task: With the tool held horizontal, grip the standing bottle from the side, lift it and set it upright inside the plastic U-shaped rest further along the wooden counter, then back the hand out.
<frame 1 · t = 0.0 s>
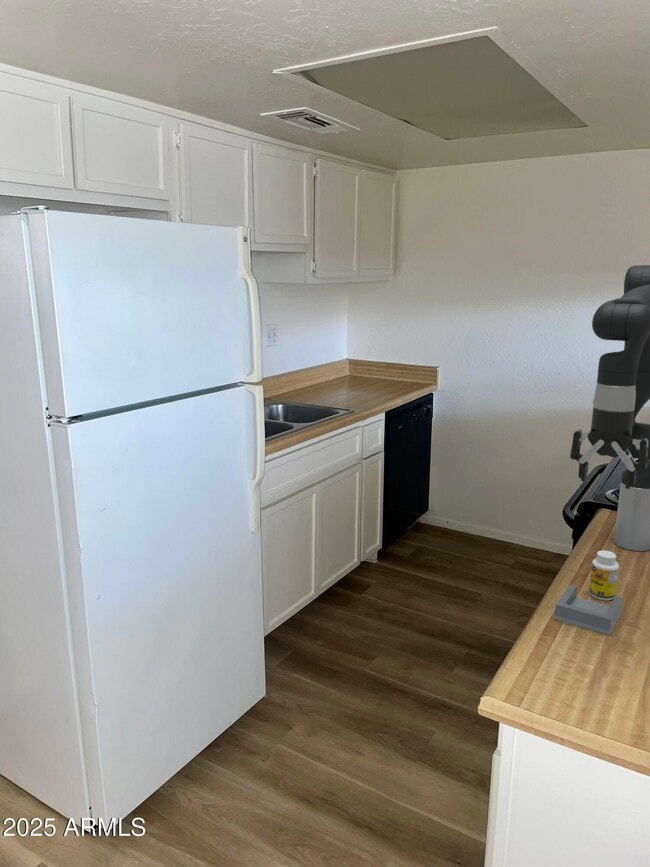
hand: (605, 484, 134), 29 cm above the worktop, tool pointing down, fingers open, 8 cm apart
supplement bottle: (601, 596, 149), on the worktop
u rest: (587, 616, 140), on the worktop
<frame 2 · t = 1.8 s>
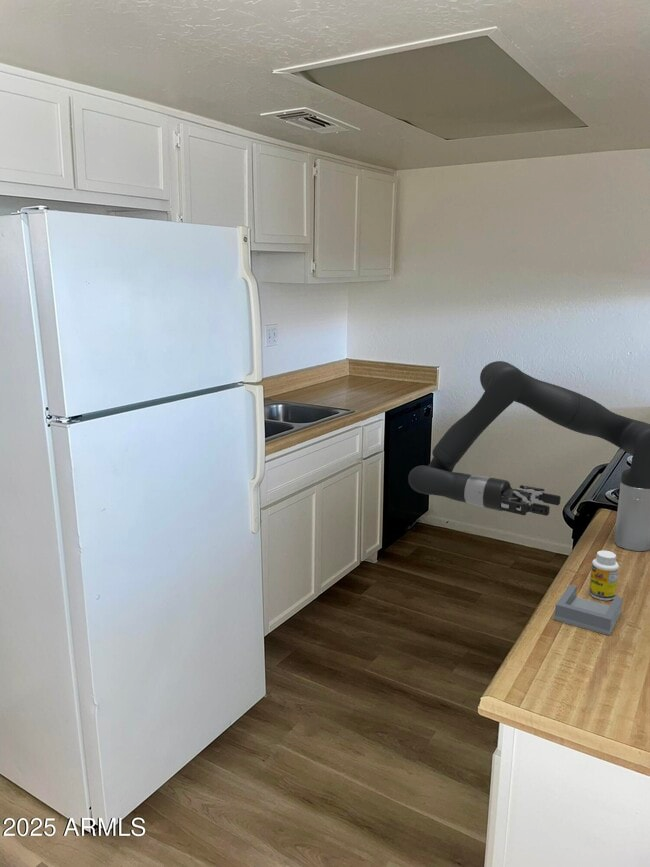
hand: (554, 505, 152), 19 cm above the worktop, tool horizontal, fingers open, 8 cm apart
nothing on the worktop moved.
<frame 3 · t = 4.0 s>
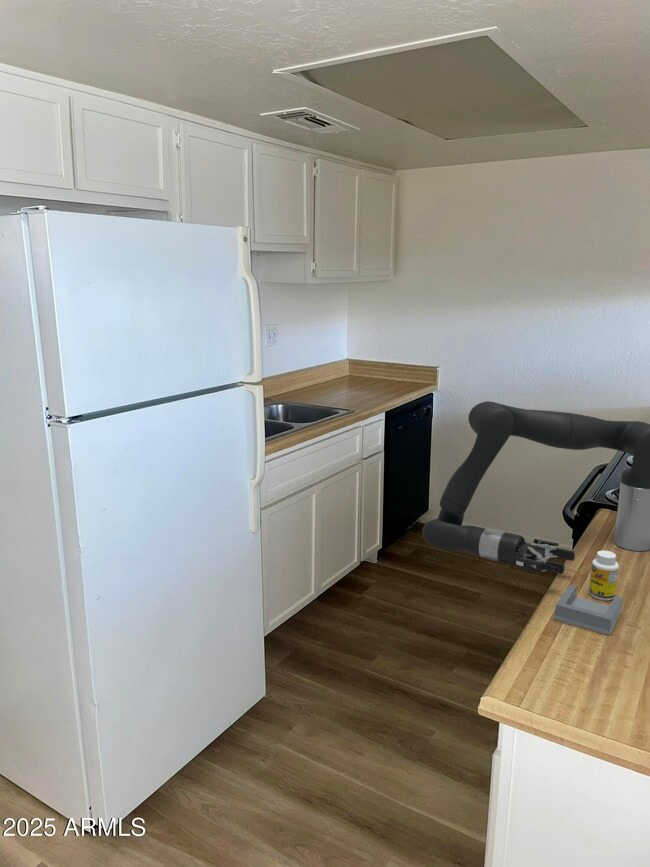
hand: (569, 562, 152), 6 cm above the worktop, tool horizontal, fingers open, 8 cm apart
nothing on the worktop moved.
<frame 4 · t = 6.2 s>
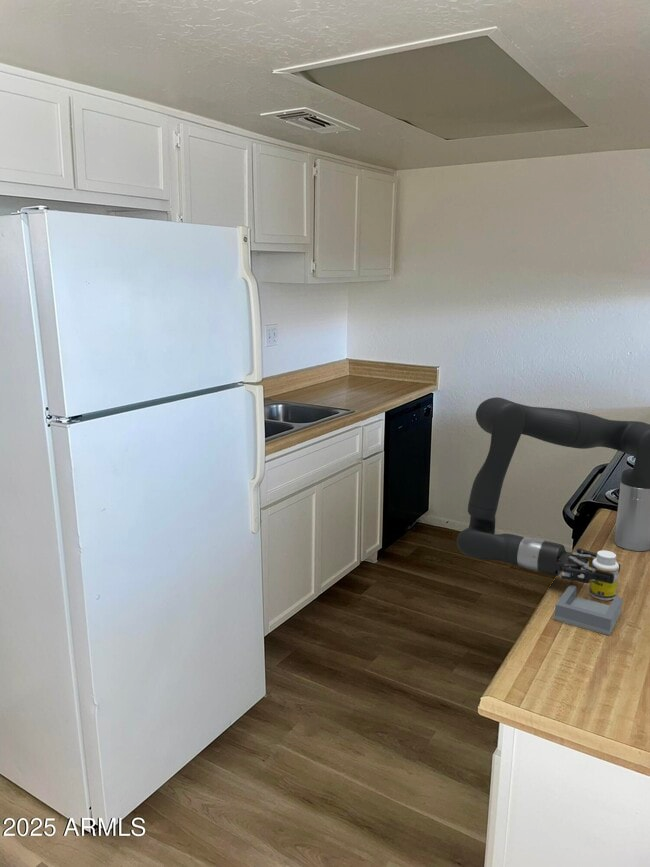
hand: (616, 573, 147), 6 cm above the worktop, tool horizontal, fingers closed on supplement bottle, 5 cm apart
supplement bottle: (601, 596, 149), on the worktop, touching gripper
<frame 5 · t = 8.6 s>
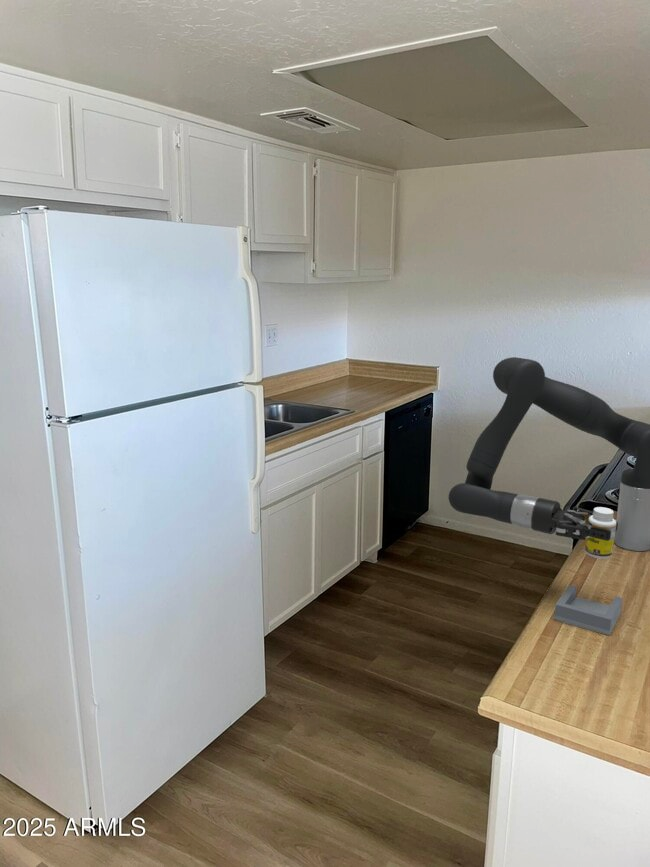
hand: (613, 531, 140), 18 cm above the worktop, tool horizontal, fingers closed on supplement bottle, 5 cm apart
supplement bottle: (598, 555, 143), point 12 cm above the worktop, touching gripper
when the fingers open (9 cm above the worktop, at t = 11.2 s): supplement bottle drops 1 cm, resting on u rest.
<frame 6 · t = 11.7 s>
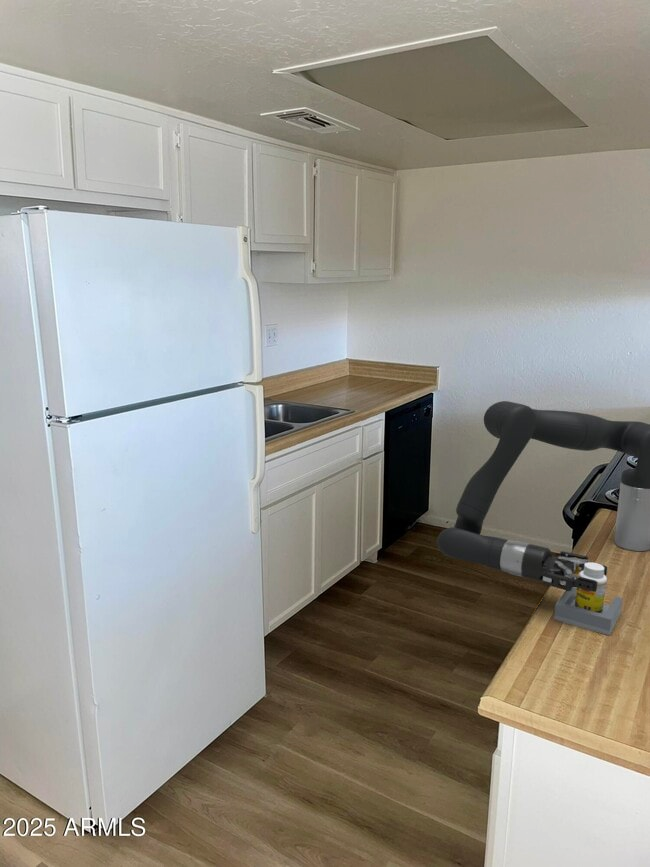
hand: (602, 578, 138), 9 cm above the worktop, tool horizontal, fingers open, 8 cm apart
supplement bottle: (588, 611, 141), point 1 cm above the worktop, touching u rest
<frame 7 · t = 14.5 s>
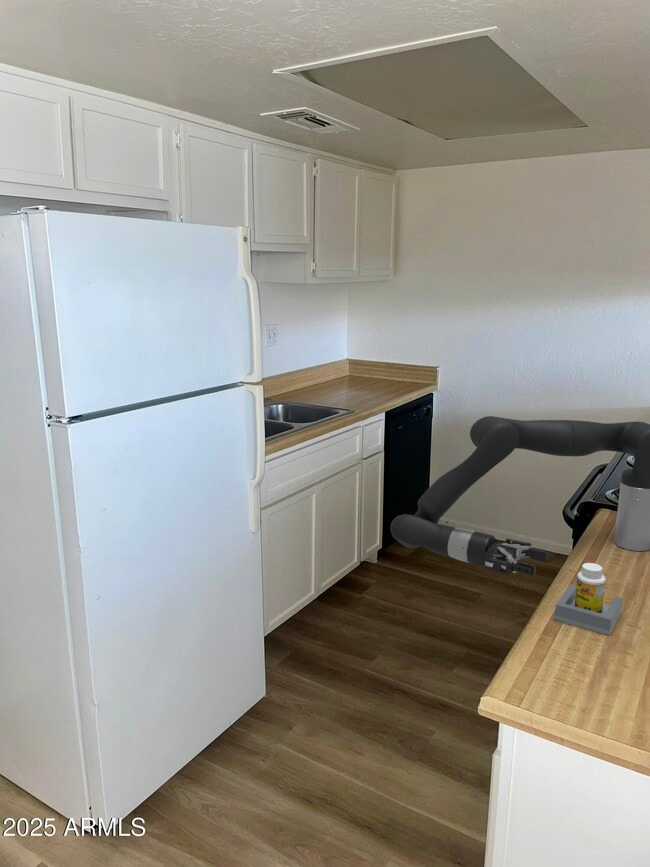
hand: (541, 563, 145), 9 cm above the worktop, tool horizontal, fingers open, 8 cm apart
nothing on the worktop moved.
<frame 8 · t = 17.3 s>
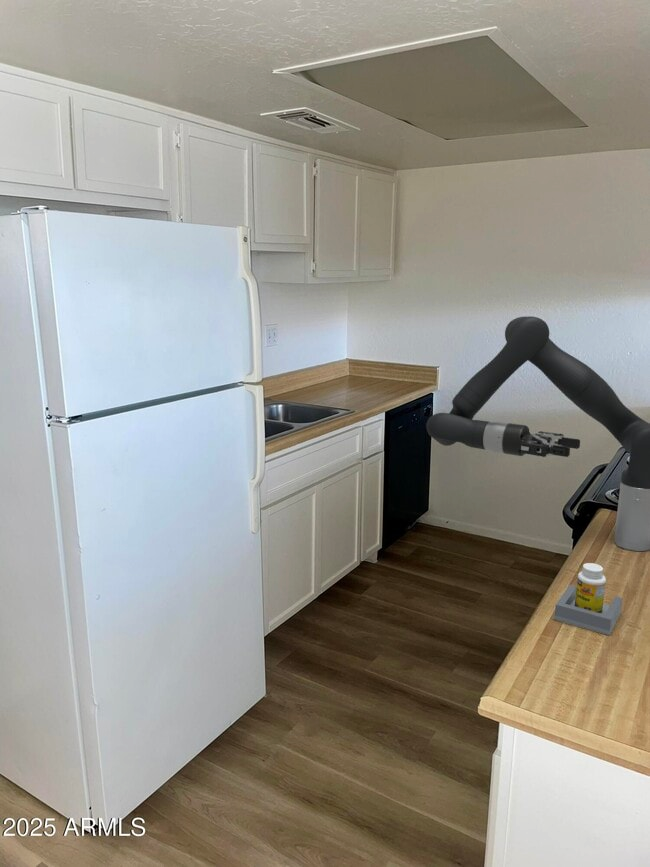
hand: (574, 448, 151), 32 cm above the worktop, tool horizontal, fingers open, 8 cm apart
nothing on the worktop moved.
at the end: supplement bottle 0.3 cm off-centre on the u rest, point 0.8 cm above the u rest's base; supplement bottle tilted 0°; the gripper is holding nothing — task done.
